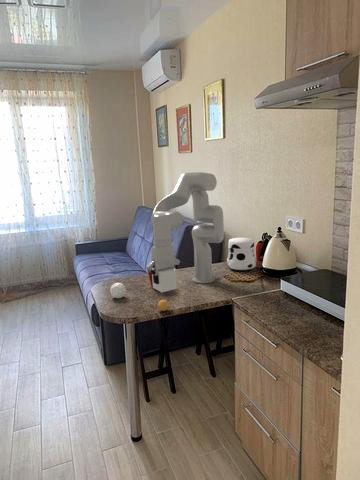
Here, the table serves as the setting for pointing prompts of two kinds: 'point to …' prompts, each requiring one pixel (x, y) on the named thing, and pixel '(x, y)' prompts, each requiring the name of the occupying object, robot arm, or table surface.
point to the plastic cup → (150, 277)
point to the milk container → (241, 254)
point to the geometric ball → (117, 290)
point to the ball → (163, 305)
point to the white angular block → (166, 280)
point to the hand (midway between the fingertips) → (164, 281)
